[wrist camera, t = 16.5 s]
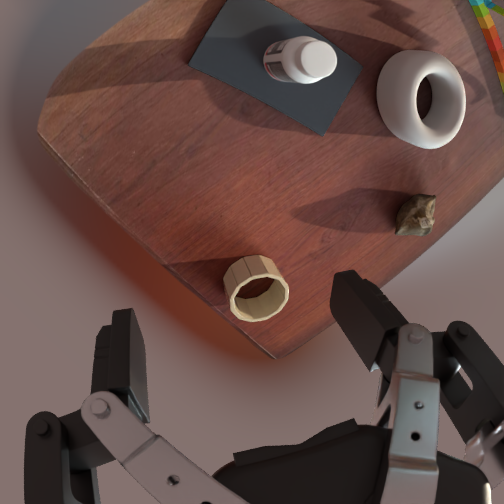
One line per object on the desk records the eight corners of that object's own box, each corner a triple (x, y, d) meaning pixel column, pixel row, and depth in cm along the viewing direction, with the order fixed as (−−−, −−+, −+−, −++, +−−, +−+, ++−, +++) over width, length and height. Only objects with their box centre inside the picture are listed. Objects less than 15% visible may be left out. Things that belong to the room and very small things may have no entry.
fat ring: (446, 67, 39) (475, 72, 33) (431, 147, 46) (458, 159, 41) (380, 36, 35) (411, 35, 29) (364, 130, 42) (392, 141, 36)
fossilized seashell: (435, 181, 47) (388, 200, 48) (454, 214, 45) (406, 235, 46) (426, 202, 54) (383, 219, 55) (442, 232, 51) (398, 251, 53)
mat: (187, 65, 32) (187, 65, 31) (236, -14, 28) (237, -15, 27) (321, 135, 41) (323, 136, 40) (361, 66, 37) (363, 66, 36)
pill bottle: (304, 81, 36) (343, 86, 28) (263, 82, 35) (294, 85, 27) (302, 41, 33) (342, 35, 25) (261, 40, 32) (291, 31, 24)
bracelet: (214, 293, 50) (220, 314, 46) (239, 247, 47) (248, 266, 43) (261, 306, 54) (270, 326, 50) (287, 264, 51) (299, 283, 47)
